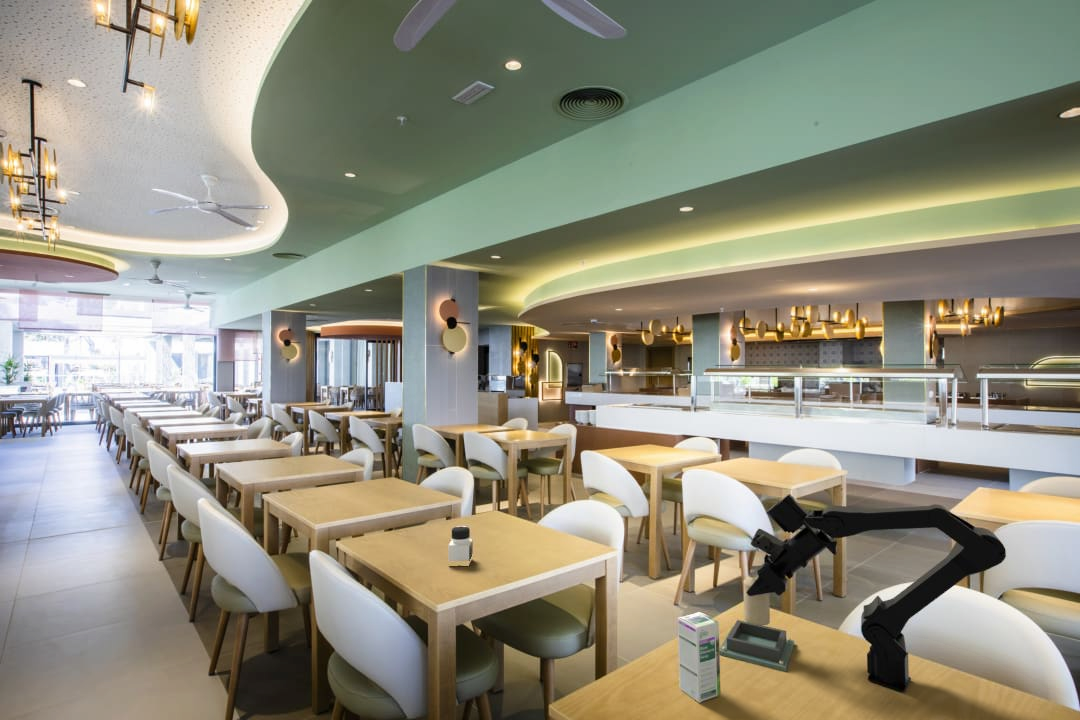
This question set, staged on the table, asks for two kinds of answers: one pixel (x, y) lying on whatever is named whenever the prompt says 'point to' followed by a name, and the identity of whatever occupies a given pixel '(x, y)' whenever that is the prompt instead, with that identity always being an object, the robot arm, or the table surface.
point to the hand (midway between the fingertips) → (750, 589)
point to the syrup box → (699, 656)
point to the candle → (756, 605)
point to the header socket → (758, 645)
